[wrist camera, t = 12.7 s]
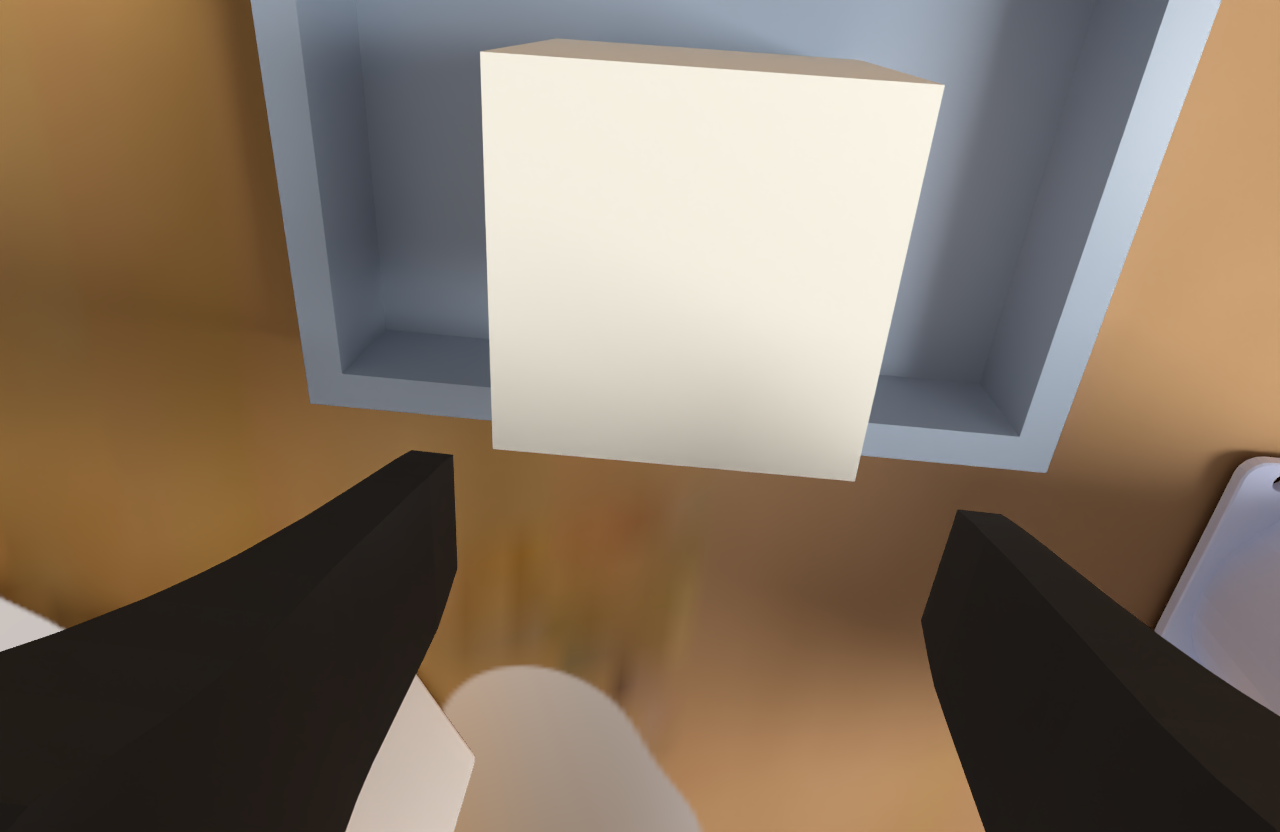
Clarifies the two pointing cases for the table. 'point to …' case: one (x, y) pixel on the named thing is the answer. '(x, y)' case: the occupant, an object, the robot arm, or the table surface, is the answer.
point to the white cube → (695, 250)
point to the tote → (763, 23)
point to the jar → (415, 772)
